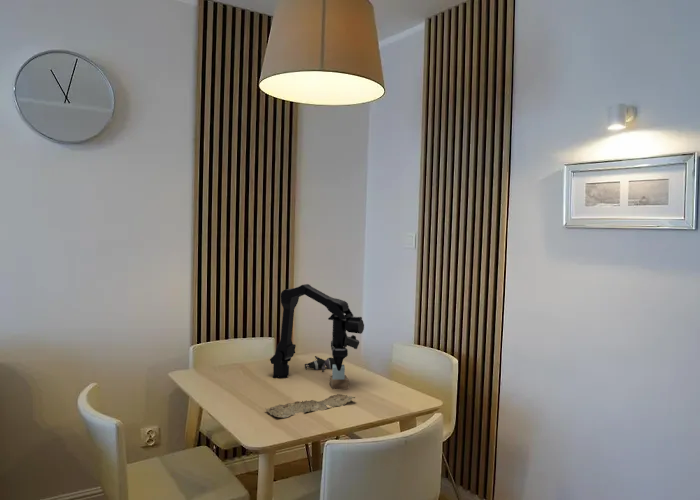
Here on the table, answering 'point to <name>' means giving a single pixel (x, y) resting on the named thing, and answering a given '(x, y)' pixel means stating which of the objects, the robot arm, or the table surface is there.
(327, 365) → the toy
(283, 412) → the rock fragment
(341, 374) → the cube
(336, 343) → the robot arm
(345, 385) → the base block
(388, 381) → the table surface
